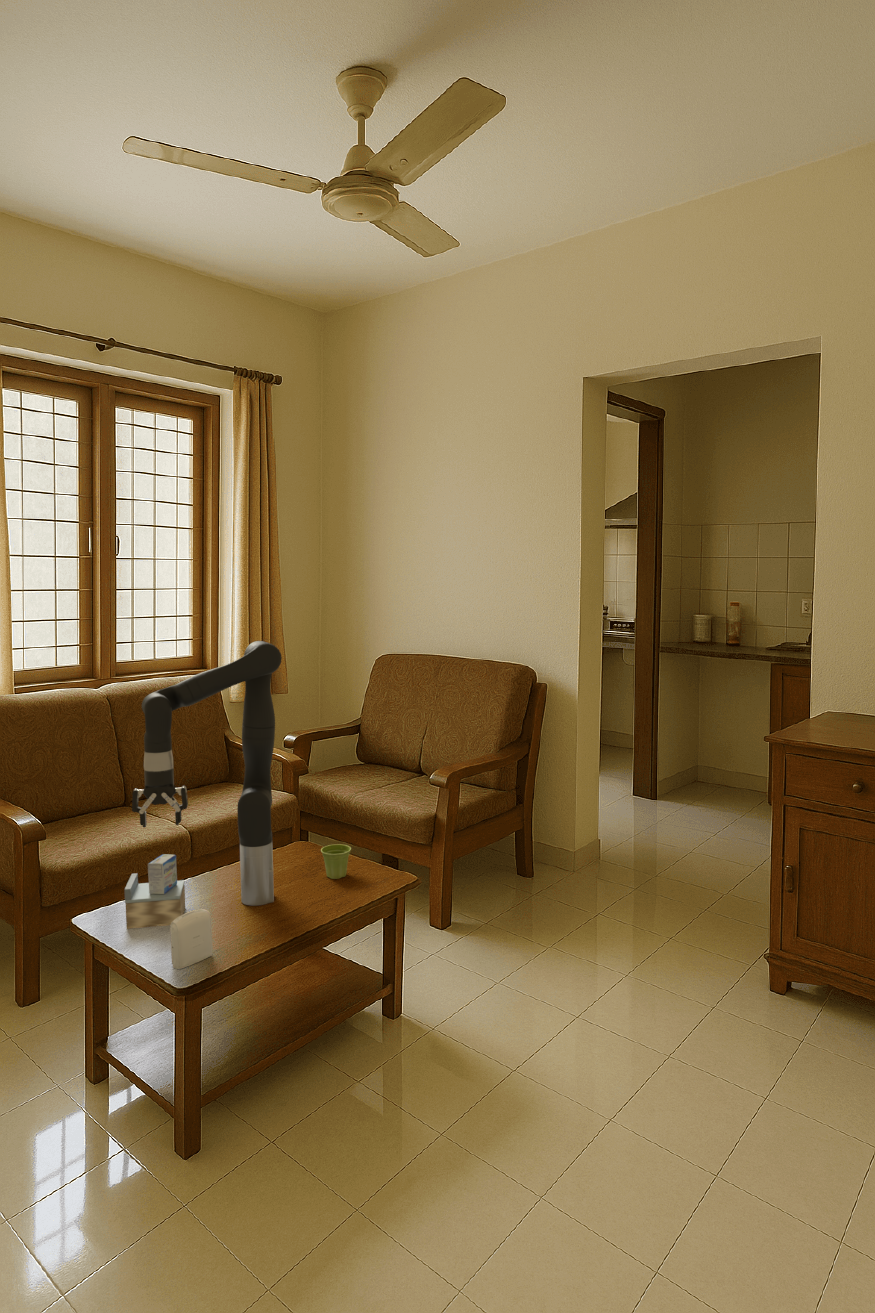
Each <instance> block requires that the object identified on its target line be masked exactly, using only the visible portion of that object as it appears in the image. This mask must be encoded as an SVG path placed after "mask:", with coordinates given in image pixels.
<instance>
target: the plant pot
mask: <svg viewBox="0 0 875 1313" xmlns="http://www.w3.org/2000/svg"><path fill="white" fill-rule="evenodd" d="M351 850H352V847H351V846H349V845H347V844H340V843H339V844H338V843H337V844H329V845H326V846H323V847H321V849H320V852H321V854H322V857H323V862H324V867H325V874H326V877H327V878H329V879H332V880H339V879H341V878H345V877H346V876H347V872H348V862H349V856H350V853H351V852H352V851H351Z"/></svg>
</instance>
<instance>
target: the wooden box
mask: <svg viewBox="0 0 875 1313" xmlns="http://www.w3.org/2000/svg"><path fill="white" fill-rule="evenodd" d="M185 887H186V886H185V884H184V887H183V890H182V894H181V897H180V899H173V900H160V901H148V902H135V903H125V921H126V923H125V924H126V925H125V926H126V930H130V929H141V928H142V929H143V928H153V927H167V926H170V925H171V922H172V921H174V920H175V919H176V918H178V917H179V916H181V915H183V914H185V913H186V912H185V911H186V894H185V893H186V890H185Z"/></svg>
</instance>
